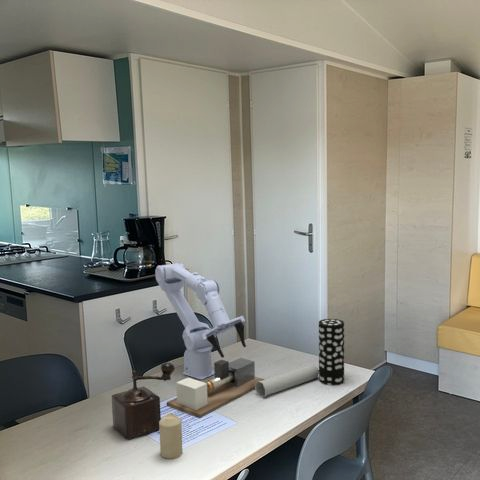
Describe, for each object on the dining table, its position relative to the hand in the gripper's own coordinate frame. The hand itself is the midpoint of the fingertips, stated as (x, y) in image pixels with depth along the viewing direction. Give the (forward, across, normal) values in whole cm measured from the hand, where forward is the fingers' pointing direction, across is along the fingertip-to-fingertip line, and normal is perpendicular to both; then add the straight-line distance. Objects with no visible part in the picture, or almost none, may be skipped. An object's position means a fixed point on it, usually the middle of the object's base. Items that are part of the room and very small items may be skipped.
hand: (233, 351), depth 174 cm
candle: (+24, -22, -27) cm, 42 cm away
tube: (+15, +11, +13) cm, 23 cm away
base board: (+9, -10, +5) cm, 14 cm away
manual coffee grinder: (+12, -29, -16) cm, 35 cm away
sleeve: (+8, -4, +13) cm, 15 cm away
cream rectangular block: (+11, -18, -4) cm, 21 cm away
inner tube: (+7, -7, +7) cm, 12 cm away
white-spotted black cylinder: (+19, +24, +19) cm, 36 cm away
